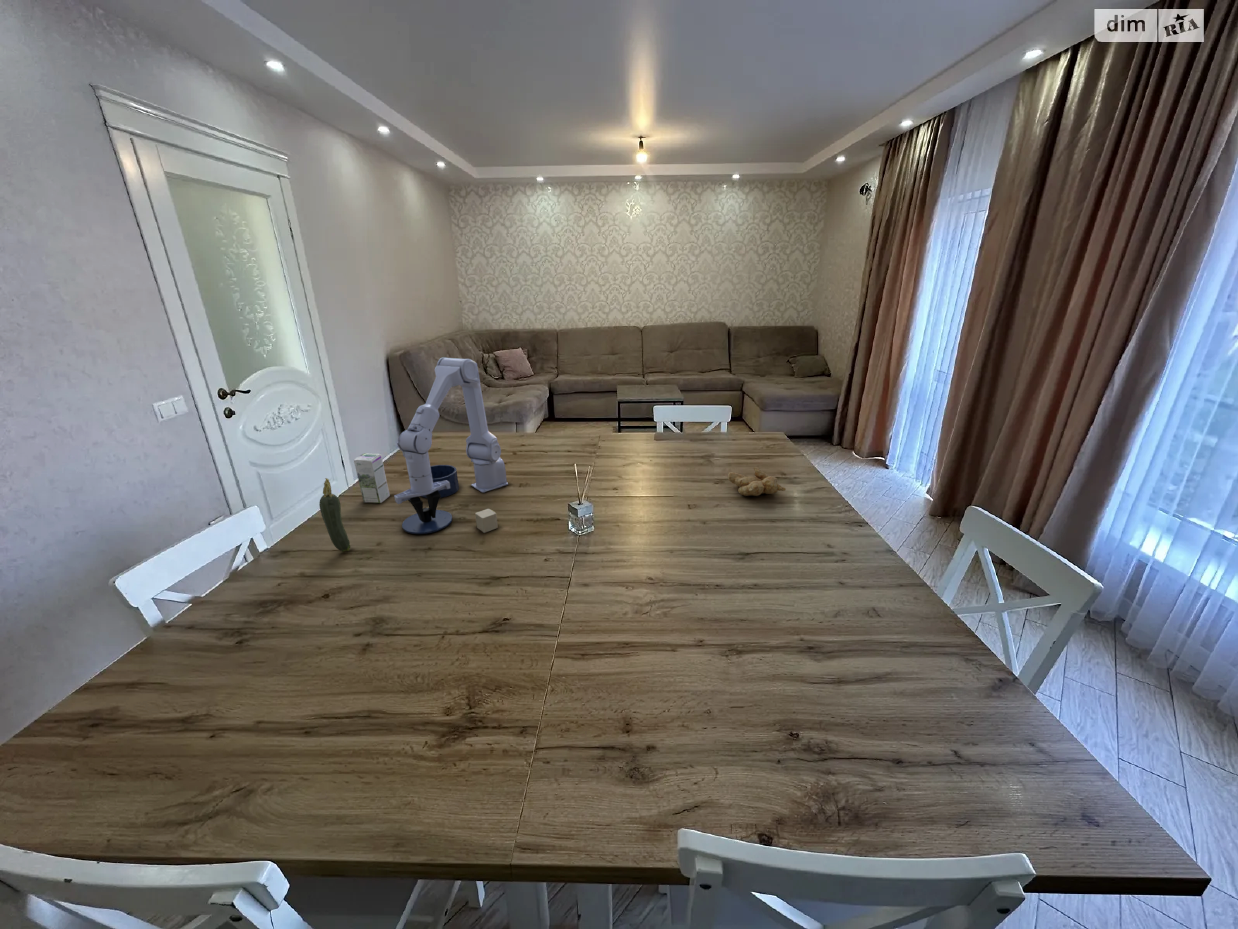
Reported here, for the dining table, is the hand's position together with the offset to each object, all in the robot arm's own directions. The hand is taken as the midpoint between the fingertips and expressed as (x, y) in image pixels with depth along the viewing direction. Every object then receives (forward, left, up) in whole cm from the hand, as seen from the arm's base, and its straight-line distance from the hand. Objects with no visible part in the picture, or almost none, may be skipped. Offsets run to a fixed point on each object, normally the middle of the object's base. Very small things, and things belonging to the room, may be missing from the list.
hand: (427, 518), depth 134 cm
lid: (0, 0, -1) cm, 1 cm away
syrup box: (+5, -27, -2) cm, 28 cm away
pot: (-12, -20, -2) cm, 23 cm away
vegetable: (+22, -1, -2) cm, 22 cm away
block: (-11, +13, -2) cm, 17 cm away
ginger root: (-84, +52, -2) cm, 99 cm away
